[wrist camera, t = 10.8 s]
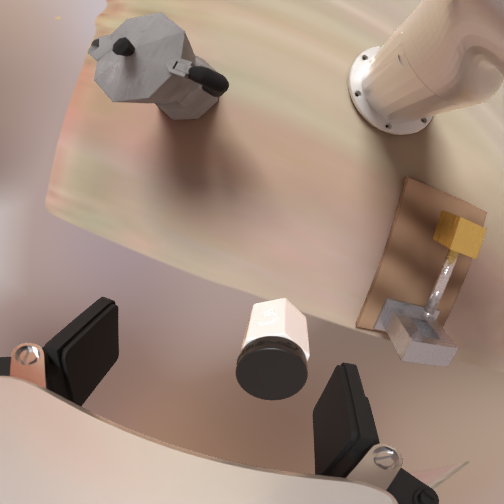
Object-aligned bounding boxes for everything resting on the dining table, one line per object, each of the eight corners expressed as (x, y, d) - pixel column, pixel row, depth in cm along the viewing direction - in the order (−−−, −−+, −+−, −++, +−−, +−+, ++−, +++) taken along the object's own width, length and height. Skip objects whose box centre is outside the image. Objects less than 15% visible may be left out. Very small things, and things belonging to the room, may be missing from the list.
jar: (300, 292, 40) (304, 340, 29) (310, 339, 42) (316, 394, 31) (238, 304, 42) (222, 354, 31) (253, 350, 44) (243, 404, 33)
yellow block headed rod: (441, 209, 32) (460, 216, 27) (467, 220, 32) (486, 228, 27) (406, 305, 36) (419, 322, 31) (432, 311, 36) (446, 328, 31)
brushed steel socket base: (386, 296, 38) (409, 332, 29) (438, 309, 38) (466, 342, 29) (373, 326, 40) (391, 366, 31) (425, 336, 39) (448, 373, 30)
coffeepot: (134, 105, 35) (47, 82, 18) (164, 48, 32) (94, -6, 15) (231, 145, 36) (184, 131, 19) (264, 82, 33) (245, 20, 16)
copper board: (406, 177, 34) (408, 177, 33) (483, 211, 34) (486, 212, 33) (355, 323, 41) (357, 326, 40) (432, 338, 40) (435, 341, 39)
